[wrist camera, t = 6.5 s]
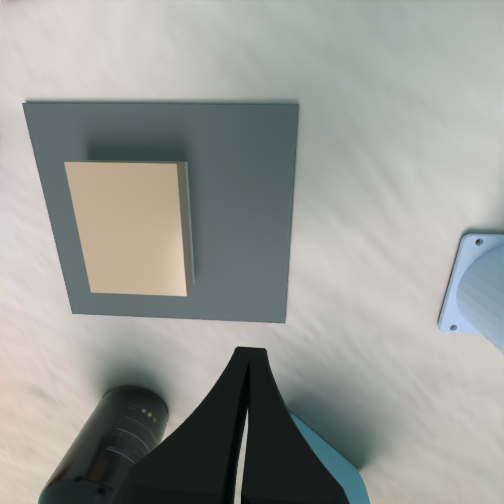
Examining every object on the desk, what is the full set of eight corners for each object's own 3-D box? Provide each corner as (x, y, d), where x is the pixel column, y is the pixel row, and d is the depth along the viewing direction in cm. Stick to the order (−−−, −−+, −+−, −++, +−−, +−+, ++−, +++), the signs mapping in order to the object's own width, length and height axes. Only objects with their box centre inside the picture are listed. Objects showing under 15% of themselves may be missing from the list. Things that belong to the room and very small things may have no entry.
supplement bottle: (140, 444, 30) (62, 622, 19) (88, 405, 28) (-30, 574, 17) (185, 414, 28) (127, 594, 17) (132, 371, 27) (30, 536, 15)
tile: (176, 163, 17) (64, 161, 18) (186, 296, 20) (91, 292, 21) (187, 161, 19) (87, 159, 20) (194, 281, 23) (108, 278, 23)
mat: (298, 105, 18) (298, 104, 18) (284, 321, 24) (285, 323, 23) (25, 103, 19) (22, 103, 19) (74, 311, 25) (72, 313, 24)
